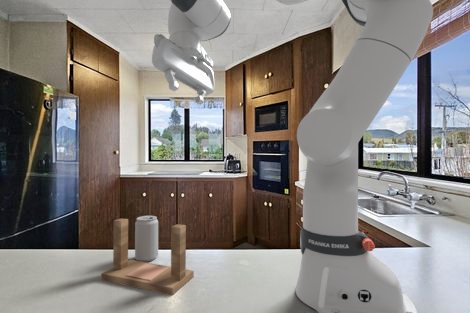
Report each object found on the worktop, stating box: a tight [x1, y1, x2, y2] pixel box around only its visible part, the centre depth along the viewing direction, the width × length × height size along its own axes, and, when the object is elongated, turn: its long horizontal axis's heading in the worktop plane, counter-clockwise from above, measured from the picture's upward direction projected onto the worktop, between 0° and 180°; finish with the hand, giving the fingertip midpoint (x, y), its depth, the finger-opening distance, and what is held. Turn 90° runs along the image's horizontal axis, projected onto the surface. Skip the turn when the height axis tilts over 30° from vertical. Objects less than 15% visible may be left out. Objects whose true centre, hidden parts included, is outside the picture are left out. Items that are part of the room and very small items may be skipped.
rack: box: [101, 218, 195, 296], centre depth 62 cm, size 20×9×14 cm, turn 70°
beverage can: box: [134, 215, 159, 263], centre depth 74 cm, size 6×6×12 cm
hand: (187, 96), depth 66 cm, fingers open, 8 cm apart
